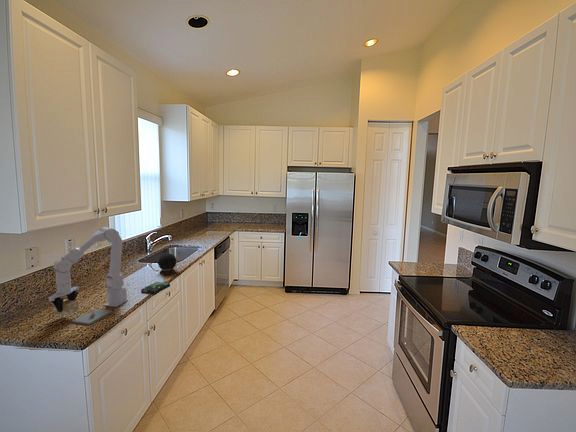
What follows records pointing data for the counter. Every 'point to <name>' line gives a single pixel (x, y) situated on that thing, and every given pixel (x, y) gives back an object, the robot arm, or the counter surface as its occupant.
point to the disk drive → (155, 287)
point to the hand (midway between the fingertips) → (65, 309)
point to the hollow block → (67, 307)
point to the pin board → (92, 316)
